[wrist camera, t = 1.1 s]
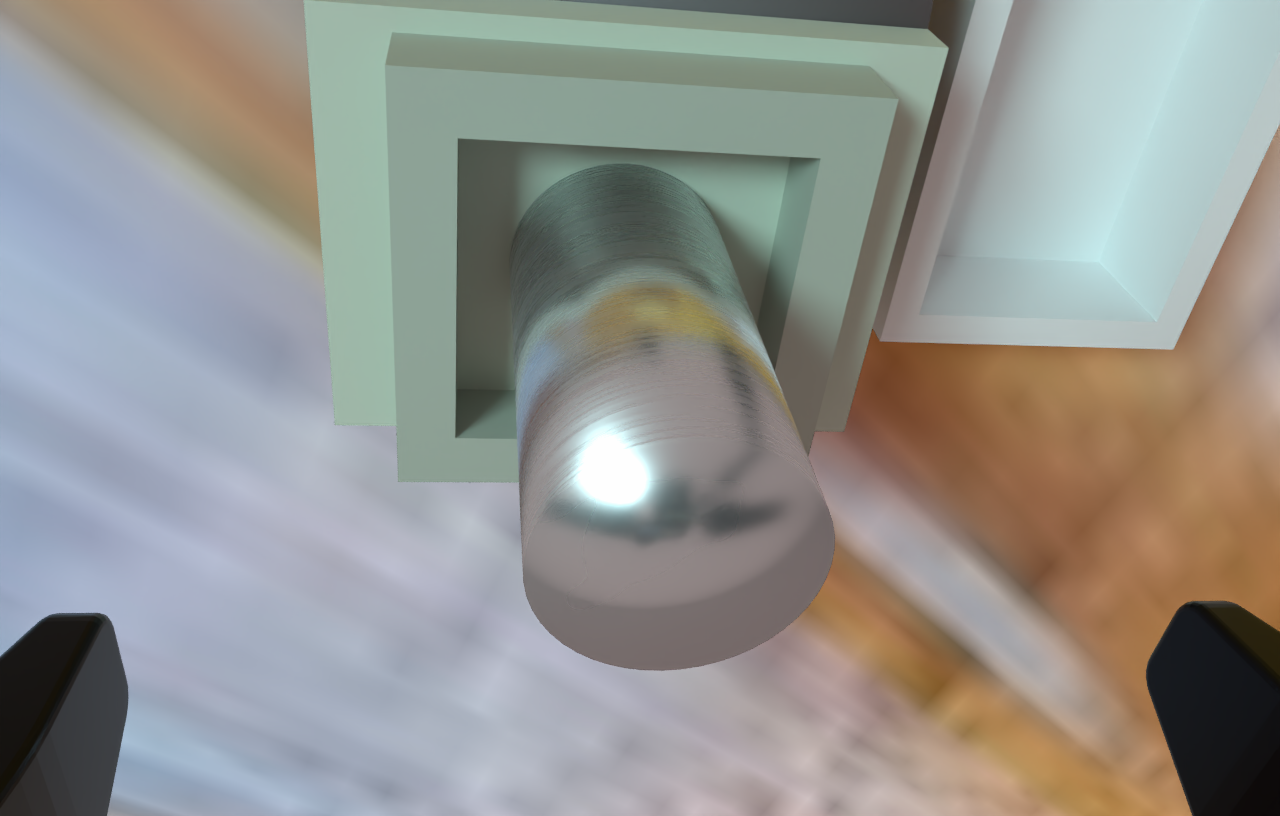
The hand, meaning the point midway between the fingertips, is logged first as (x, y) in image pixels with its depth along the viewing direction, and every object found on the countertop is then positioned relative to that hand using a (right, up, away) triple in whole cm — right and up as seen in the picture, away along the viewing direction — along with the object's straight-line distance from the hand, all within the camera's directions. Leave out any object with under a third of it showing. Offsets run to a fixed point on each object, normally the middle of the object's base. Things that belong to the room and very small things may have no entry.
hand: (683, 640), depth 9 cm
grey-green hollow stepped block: (-1, +9, +10) cm, 13 cm away
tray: (+7, +9, +11) cm, 16 cm away
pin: (-1, +4, +6) cm, 7 cm away
